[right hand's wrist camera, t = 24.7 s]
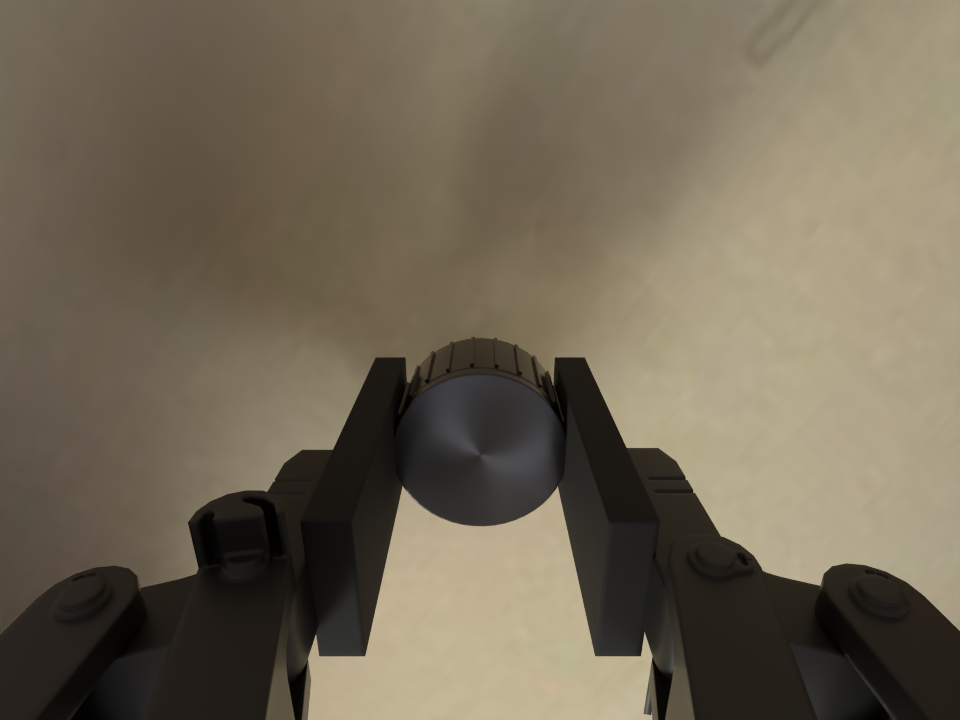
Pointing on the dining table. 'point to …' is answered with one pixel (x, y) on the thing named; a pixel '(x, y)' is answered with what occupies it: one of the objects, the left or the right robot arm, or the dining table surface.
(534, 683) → the dining table surface
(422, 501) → the cap
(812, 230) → the dining table surface
